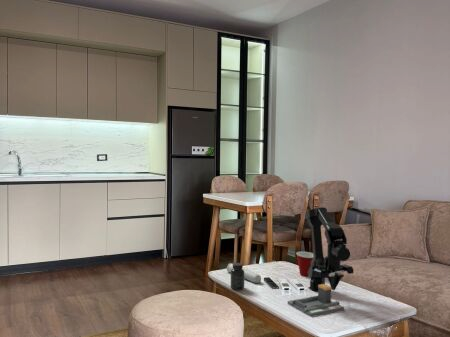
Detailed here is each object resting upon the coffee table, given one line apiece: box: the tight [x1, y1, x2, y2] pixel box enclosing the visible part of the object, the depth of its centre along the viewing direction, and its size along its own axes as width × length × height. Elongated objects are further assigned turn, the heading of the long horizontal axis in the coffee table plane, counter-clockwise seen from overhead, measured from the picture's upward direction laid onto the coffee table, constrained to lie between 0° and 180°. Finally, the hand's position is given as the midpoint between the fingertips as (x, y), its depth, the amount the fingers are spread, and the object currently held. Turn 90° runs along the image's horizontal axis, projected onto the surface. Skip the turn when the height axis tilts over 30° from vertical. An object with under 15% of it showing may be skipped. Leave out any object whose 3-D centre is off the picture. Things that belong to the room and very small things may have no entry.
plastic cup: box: [295, 251, 313, 278], centre depth 226 cm, size 11×11×12 cm
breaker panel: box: [287, 295, 345, 318], centre depth 179 cm, size 18×16×3 cm
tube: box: [226, 263, 262, 284], centre depth 220 cm, size 5×5×25 cm
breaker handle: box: [317, 283, 332, 304], centre depth 181 cm, size 3×5×7 cm, turn 27°
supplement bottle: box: [230, 262, 245, 291], centre depth 202 cm, size 7×7×12 cm
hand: (333, 290), depth 183 cm, fingers closed
